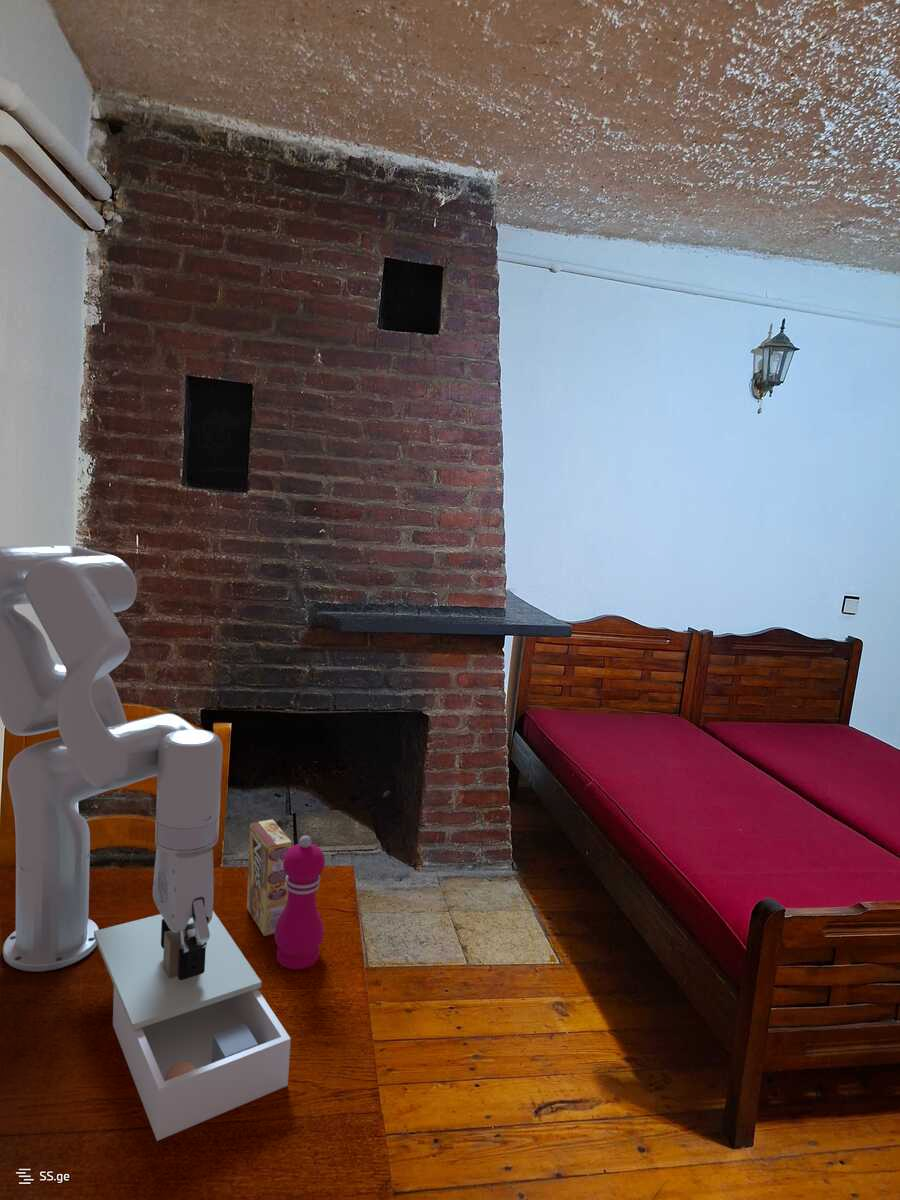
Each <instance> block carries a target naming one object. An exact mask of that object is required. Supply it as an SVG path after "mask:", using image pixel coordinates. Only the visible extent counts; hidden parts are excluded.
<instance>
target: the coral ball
mask: <svg viewBox="0 0 900 1200" xmlns="http://www.w3.org/2000/svg"><path fill="white" fill-rule="evenodd" d="M193 1070H196V1068H195V1066H194V1065H193V1064H191V1063H190V1062H186V1061H182V1062H178V1063H176V1064H174V1065H173V1066H172V1067H171V1068H170V1069H169V1070H168V1072H167V1074H166V1077H165V1081H167V1080H169V1079H172V1078H175V1077H177V1076H180V1075H182V1074H185V1073H188V1072H190V1071H193Z"/></svg>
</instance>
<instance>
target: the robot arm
mask: <svg viewBox="0 0 900 1200" xmlns="http://www.w3.org/2000/svg"><path fill="white" fill-rule="evenodd" d="M137 594H138V585H137V579H136V577H135V574H134V573H133V571H132V569H131V568H130V566H129V565H128V564H127V563H126V562H125V561H124V560H122V559H121V558H119V557H118V556H115V555H112V554H110V553H105V552H101V551H97V550H93V549H88V548H84V547H80V546H74V545H66V544H62V545H61V544H60V545H59V544H54V545H49V544H48V545H9V546H8V545H6V546H5V545H4V546H0V719H1V722H2V723H3V725H4V727H5V729H6V730H7V731H8V732H9V733H11V734H12V735H15V736H21V737H22V736H23V737H27V736H33V735H40V734H43V733H48V732H51V731H56V730H58V731H59V735H60V737H59V736H58V737H55V738H51V739H48V740H44V741H40V742H37V743H34V744H32V745H30V746H28V747H26V748H24V749H22V750H21V751H19V753H17V754H16V755H15V756H14V757H13V759H12V760H11V761H10V764H9V766H8V769H7V784H8V789H9V792H10V797H11V798H10V799H11V802H12V803H11V804H12V809H13V814H14V825H15V930H14V931H13V932H11V933H10V935H9V936H8V937H7V938H6V940H5V941H4V943H3V946H2V956H3V959H4V961H5V962H6V964H8V965H9V966H10V967H12V968H14V969H17V970H20V971H24V972H47V971H53V970H57V969H61V968H62V969H63V968H65V967H68V966H70V965H73V964H75V963H76V962H79V961H80V960H83V959H84V958H85V957H87V956H89V955H90V953H91V952H93V951H94V950H95V948H97V946H98V945H97V943H96V940H95V938H94V931H96V930H100V929H99V925H97V924H96V922H94V920H92V919H90V918H89V911H90V910H89V906H90V905H89V902H90V896H89V895H90V862H91V861H90V859H91V858H90V854H91V853H90V850H91V832H90V826H89V824H88V822H87V821H86V819H85V817H84V816H82V815H81V814H80V813H79V812H78V811H77V810H76V804H77V803H78V802H80V801H83V800H85V799H88V798H90V797H93V796H97V795H99V794H103V793H105V792H107V791H112V790H116V789H119V788H124V787H127V786H130V785H132V784H135V783H138V782H141V781H144V780H146V779H150V778H153V777H157V779H156V781H157V783H156V785H157V787H156V808H155V809H156V812H155V834H154V835H155V839H154V843H155V846H156V852H155V859H154V871H153V872H154V873H153V881H152V882H153V883H152V899H153V901H154V904H155V906H156V908H157V910H158V912H159V914H161V915H162V917H163V919H162V927H161V946H162V948H163V949H164V932H166V931H170V930H172V931H173V932H175V933H177V932H179V931H180V934H181V946H182V948H181V949H179V953H178V978H179V980H184V979H187V978H190V977H194V976H197V975H200V974H203V973H204V971H205V951H206V946H207V941H208V939H209V938H210V933H209V928H208V924H209V923H210V921H211V919H212V914H213V911H214V899H215V897H214V894H215V893H214V892H215V889H214V888H215V884H214V882H215V881H214V880H215V875H214V873H215V872H214V871H215V870H214V863H215V862H214V850H213V849H214V848H213V847H214V846H216V844H217V843H218V841H219V836H220V835H219V833H220V832H219V831H220V830H219V829H220V814H221V813H220V810H221V793H222V792H221V791H222V775H223V774H222V771H223V753H224V751H223V748H224V747H223V743H222V742H223V741H222V740H221V738H220V736H219V735H217V734H215V733H214V732H212V731H209V730H205V729H198V728H196V727H195V726H194V725H193V724H191V723H190V722H188V721H187V720H186V719H184V718H183V717H181V716H179V715H178V714H175V713H170V712H169V713H166V712H165V713H160V714H155V715H151V716H147V717H144V718H139V719H135V720H130V721H128V720H127V716H126V714H125V710H124V708H123V705H122V702H121V698H120V696H119V692H118V690H117V688H116V685H115V683H114V680H113V678H112V677H111V676H110V673H111V672H112V671H113V670H114V669H116V668H117V667H118V666H119V665H120V664H122V663H123V661H124V660H126V658H127V657H128V656H129V653H130V651H131V641H130V639H129V637H128V636H127V633H126V632H125V630H124V628H123V627H122V625H121V623H120V622H119V620H118V619H117V617H116V615H115V613H120V612H123V611H126V610H127V609H129V608H130V607H132V605H133V604H134V602H135V601H136V598H137ZM28 604H30V606H31V607H32V609H33V612H34V613H35V615H36V617H37V618H38V620H39V622H40V624H41V626H42V628H43V630H44V631H45V633H46V635H47V637H48V639H49V641H50V642H51V644H52V646H53V648H54V650H55V652H56V654H57V656H58V657H59V659H60V661H61V663H56V661H55V660H53V657H52V655H51V653H50V650H49V647H48V645H47V643H48V642H47V641H46V638H45V636H44V634H43V633H42V631H41V630H40V629H39V628H38V627H37V626H36V625H35V624H34V623H33V622H32V621H31V620H30V619H29V618H28V617H26V616H25V615H23V614H22V613H20V612H18V610H16V609H15V606H16V605H28ZM190 918H193V921H194V922H192V923H188V921H189V919H190ZM187 923H188V924H187ZM194 928H195V935H194V937H191V938H190V939H189V940H188V934H187V930H190V929H194Z"/></svg>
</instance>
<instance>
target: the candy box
mask: <svg viewBox="0 0 900 1200" xmlns="http://www.w3.org/2000/svg"><path fill="white" fill-rule="evenodd" d="M248 845H249V848H248V866H247V867H248V872H247V897H246V909H247V910H248V912H249V915H250V916H251V917H252V919H253V921H254V922H255V924H256V925H257V927H258V929H259V930H260V932H261V933H262V935H263V936H264V937H266V936H270V935H275V929H276V925H277V923H278V920H279V918H280V916H281V914H282V912H283V910H284V908H285V906H286V904H287V900H288V890H287V888H286V886H285V883H286V876H287V874H286V873H285V871H284V868H283V861H284V857H285V854H286V852H287V851H288V850H289V849H290V848H291V847H292V846H293V842H292V840H291V839H290V838H289V836H287V835H286V833H285V832H284V830H282V829H281V828H280V826H279V825H278V823H277V822H276V821H275V820H274V819H267V820H262V821H257V822H256V821H255V822H250V824H249V843H248Z"/></svg>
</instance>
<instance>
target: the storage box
mask: <svg viewBox="0 0 900 1200" xmlns="http://www.w3.org/2000/svg"><path fill="white" fill-rule="evenodd" d="M112 1002H113V1003H112V1005H113V1007H112V1008H113V1009H112V1012H113V1013H112V1014H113V1015H112V1027H113V1029H114V1032H115V1035H116V1037H117V1041H118V1043H119V1045H120V1048H121V1051H122V1053H123V1055H124V1058H125V1061H126V1063H127V1067H128V1068H129V1071H130V1074H131V1077H132V1079H133V1083H134V1084H135V1088H136V1089H137V1093H138V1095H139V1098H140V1101H141V1102H142V1105H143V1108H144V1111H145V1114H146V1116H147V1119H148V1121H149V1124H150V1127H151V1129H152V1132H153V1134H154V1137H155V1139H156V1142H158V1141H160V1140H163V1139H166V1138H167V1137H171V1136H172V1135H176V1134H178V1133H180V1132H181V1131H185V1130H187V1129H189V1128H192V1127H193V1126H196V1125H199V1124H201V1123H203V1122H205V1121H208V1120H211V1119H213V1118H214V1117H217V1116H219V1115H221V1114H224V1113H227V1112H229V1111H231V1110H234V1109H236V1108H239V1107H241V1106H243V1105H246V1104H248V1103H250V1102H253V1101H255V1100H258V1099H259V1098H262V1097H264V1096H267V1095H269V1094H272V1093H274V1092H276V1091H278V1090H282V1089H284V1088H286V1087H288V1083H289V1073H290V1072H289V1071H290V1068H289V1067H290V1056H291V1041H292V1040H291V1036H289V1034H288V1032H287V1031H286V1029H285V1028H284V1026H283V1025H282V1023H281V1022H280V1020H279V1019H278V1016H276V1014H275V1013H274V1011H273V1010H272V1008H271V1007H270V1005H269V1003H267V1001H266V999H265V998H264V996H263V995H262V992H261V991H260V990H259V988H258V989H255V990H252V991H249V992H246V993H243V994H240V995H237V996H234V997H231V998H228V999H225V1000H222V1001H219V1002H216V1003H213V1004H210V1005H207V1006H204V1007H201V1008H198V1009H195V1010H192V1011H189V1012H186V1013H183V1014H181V1015H178V1016H175V1017H172V1018H169V1019H166V1020H163V1021H160V1022H157V1023H154V1024H151V1025H148V1026H145V1027H142V1028H139V1029H136V1030H133V1031H132V1028H131V1026H130V1023H129V1021H128V1018H127V1016H126V1013H125V1011H124V1009H123V1006H122V1004H121V1001H120V999H119V996H118V994H117V992H116V989H115V987H114V986H113V1001H112ZM242 1024H246V1025H247V1027H248V1028H249V1030H250V1032H251V1033H252V1035H253V1037H254V1038H255V1040H256V1042H257V1043H258V1046H256V1047H253V1048H251V1049H248V1050H245V1051H243V1052H240V1053H238V1054H235V1055H232V1056H230V1057H227V1058H224V1059H222V1060H219V1061H217V1062H214V1063H212V1053H213V1035H214V1034H217V1033H220V1032H223V1031H225V1030H228V1029H231V1028H234V1027H237V1026H239V1025H242ZM182 1061H186V1062H190V1063H191V1064H193V1065H194V1066H195V1068H196V1070H193V1071H190V1072H188V1073H185V1074H182V1075H180V1076H177V1077H175V1078H172V1079H169V1080H167V1081H165V1077H166V1074H167V1072H168V1070H169V1069H170V1068H171V1067H172V1066H173V1065H174V1064H176V1063H178V1062H182Z"/></svg>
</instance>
